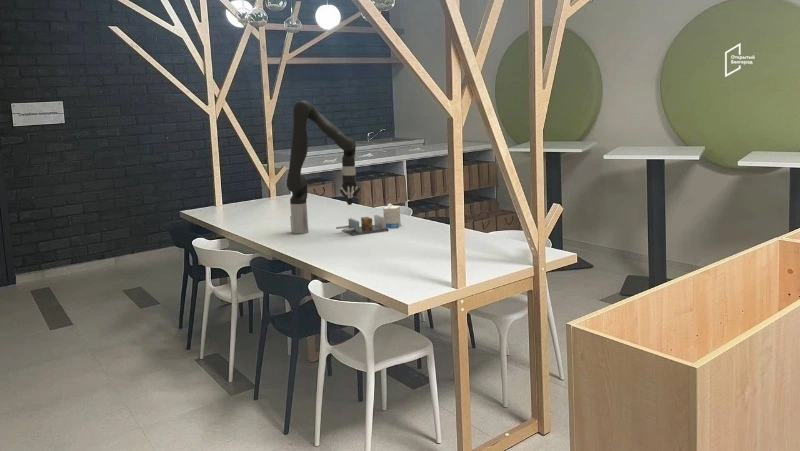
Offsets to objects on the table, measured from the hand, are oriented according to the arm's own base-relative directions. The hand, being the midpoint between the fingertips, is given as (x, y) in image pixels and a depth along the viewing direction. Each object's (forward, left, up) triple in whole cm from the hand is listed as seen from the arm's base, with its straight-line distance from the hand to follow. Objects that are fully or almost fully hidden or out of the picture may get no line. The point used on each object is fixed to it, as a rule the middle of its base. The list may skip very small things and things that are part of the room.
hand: (349, 204), depth 383 cm
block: (+9, -1, -15) cm, 17 cm away
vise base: (+9, -1, -16) cm, 18 cm away
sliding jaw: (-2, -1, -14) cm, 15 cm away
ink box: (+27, +2, -17) cm, 31 cm away
